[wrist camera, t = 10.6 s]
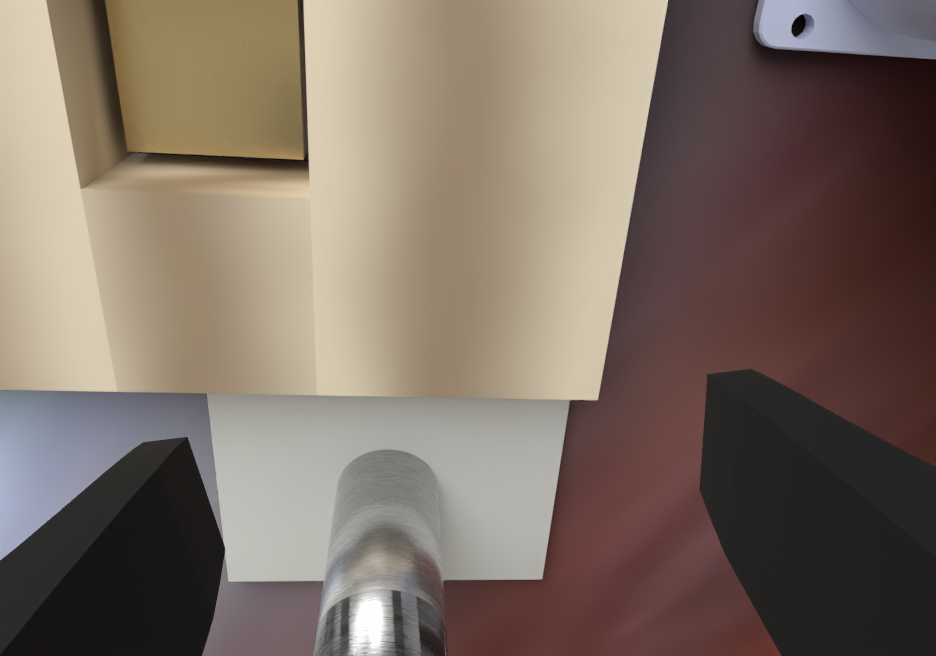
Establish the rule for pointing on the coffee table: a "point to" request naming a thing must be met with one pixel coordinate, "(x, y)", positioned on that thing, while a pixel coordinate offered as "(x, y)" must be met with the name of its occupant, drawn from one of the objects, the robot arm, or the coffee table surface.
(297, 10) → the tan flat square block
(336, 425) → the mat
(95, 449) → the coffee table surface
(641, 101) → the socket block
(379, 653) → the metal cylinder
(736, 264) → the coffee table surface
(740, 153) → the coffee table surface
